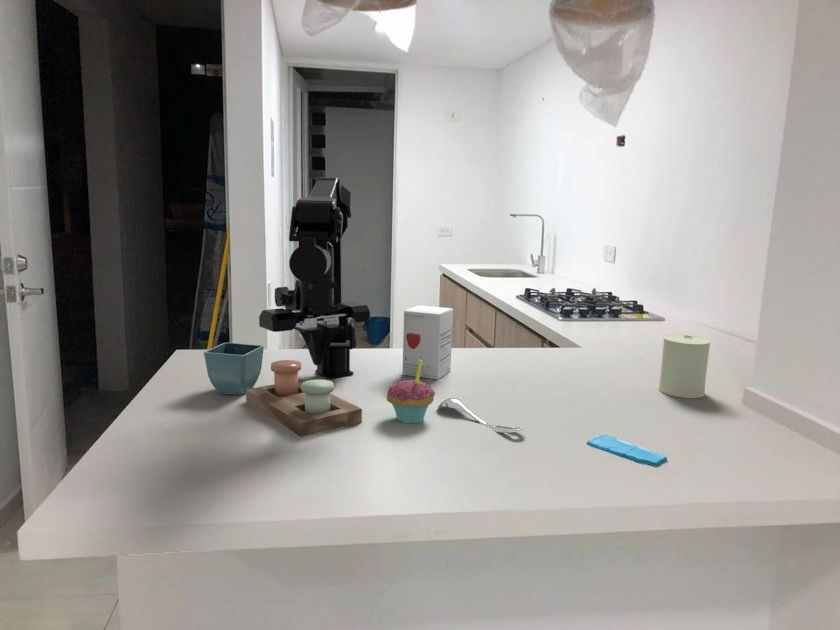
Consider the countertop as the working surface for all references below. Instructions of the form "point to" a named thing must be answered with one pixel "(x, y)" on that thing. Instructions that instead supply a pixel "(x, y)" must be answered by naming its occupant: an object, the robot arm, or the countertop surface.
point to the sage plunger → (317, 396)
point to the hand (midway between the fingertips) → (317, 364)
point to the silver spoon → (462, 406)
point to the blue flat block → (627, 450)
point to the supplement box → (427, 341)
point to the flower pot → (234, 367)
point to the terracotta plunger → (286, 377)
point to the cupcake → (411, 398)
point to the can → (684, 366)
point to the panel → (302, 411)
